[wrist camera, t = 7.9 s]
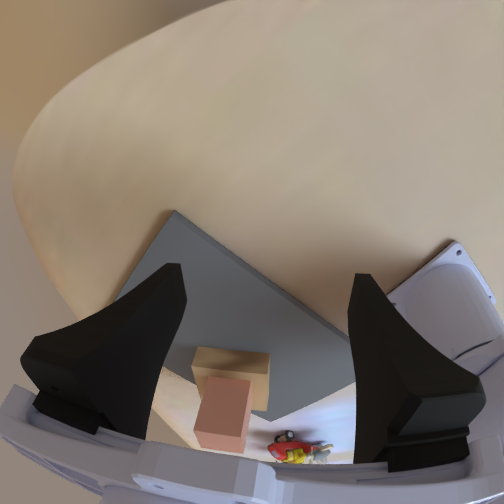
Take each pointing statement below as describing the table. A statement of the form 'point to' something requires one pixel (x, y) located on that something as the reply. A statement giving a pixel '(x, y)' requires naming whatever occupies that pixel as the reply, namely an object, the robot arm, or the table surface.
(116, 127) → the table surface
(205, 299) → the board
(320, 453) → the toy airplane
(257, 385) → the slab
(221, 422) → the pillar
